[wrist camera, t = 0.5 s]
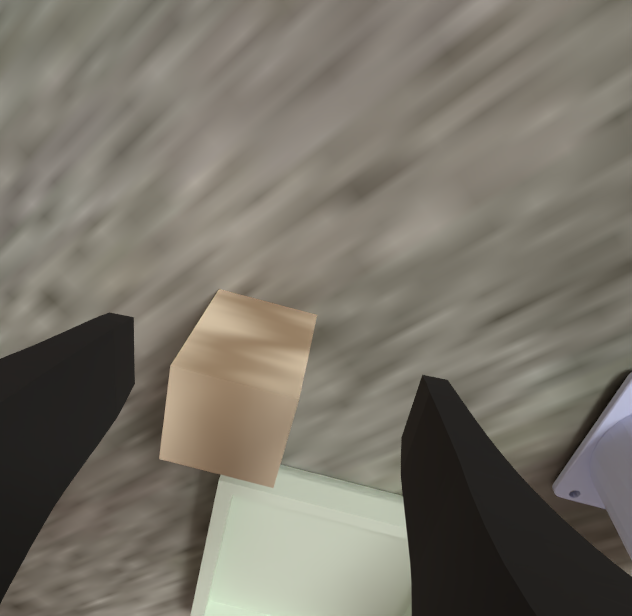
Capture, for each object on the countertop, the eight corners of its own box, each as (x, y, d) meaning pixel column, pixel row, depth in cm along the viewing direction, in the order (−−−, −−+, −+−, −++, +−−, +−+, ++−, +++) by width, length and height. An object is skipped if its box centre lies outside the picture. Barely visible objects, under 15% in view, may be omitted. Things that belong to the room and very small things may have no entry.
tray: (472, 513, 27) (479, 546, 25) (394, 643, 33) (395, 677, 32) (229, 451, 26) (218, 479, 25) (198, 595, 33) (188, 626, 31)
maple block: (317, 314, 22) (299, 399, 17) (295, 391, 24) (273, 488, 19) (219, 288, 22) (170, 365, 17) (206, 368, 24) (159, 458, 19)
